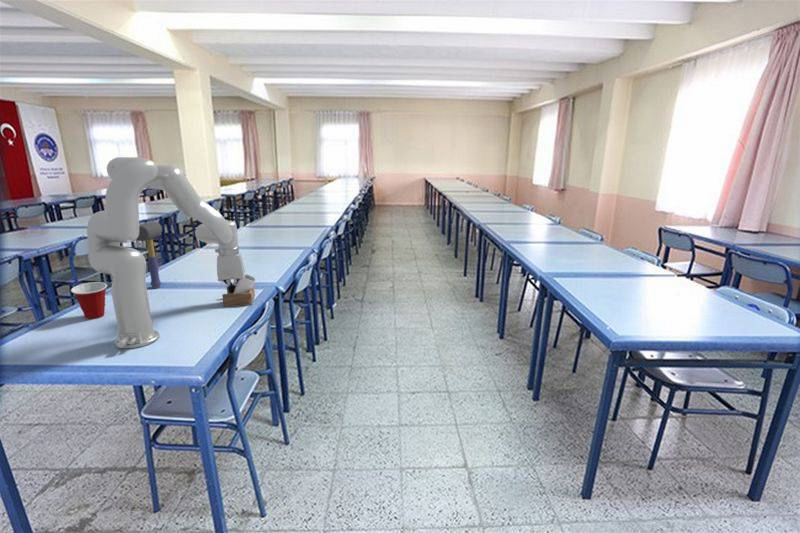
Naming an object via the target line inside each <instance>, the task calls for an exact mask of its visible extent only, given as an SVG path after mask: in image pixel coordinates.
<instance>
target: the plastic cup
mask: <svg viewBox="0 0 800 533" xmlns="http://www.w3.org/2000/svg"><path fill="white" fill-rule="evenodd" d="M107 287H108V284H107V283H106V282H102V281H101V282H100V281H94V282H93V281H91V282H85V283H81V284H78V285H76V286H74V287H72V288H71V289H70V291H71V293H73V295H74V296H75V298H76V300H77V303H78V305H79V306H80V309H81V311H82V313H83V315H84V317H85V319H86V320H96V319H100V318H102V317H104V316H105V309H106V308H105V307H106V292H107V291H106V290H107Z"/></svg>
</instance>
